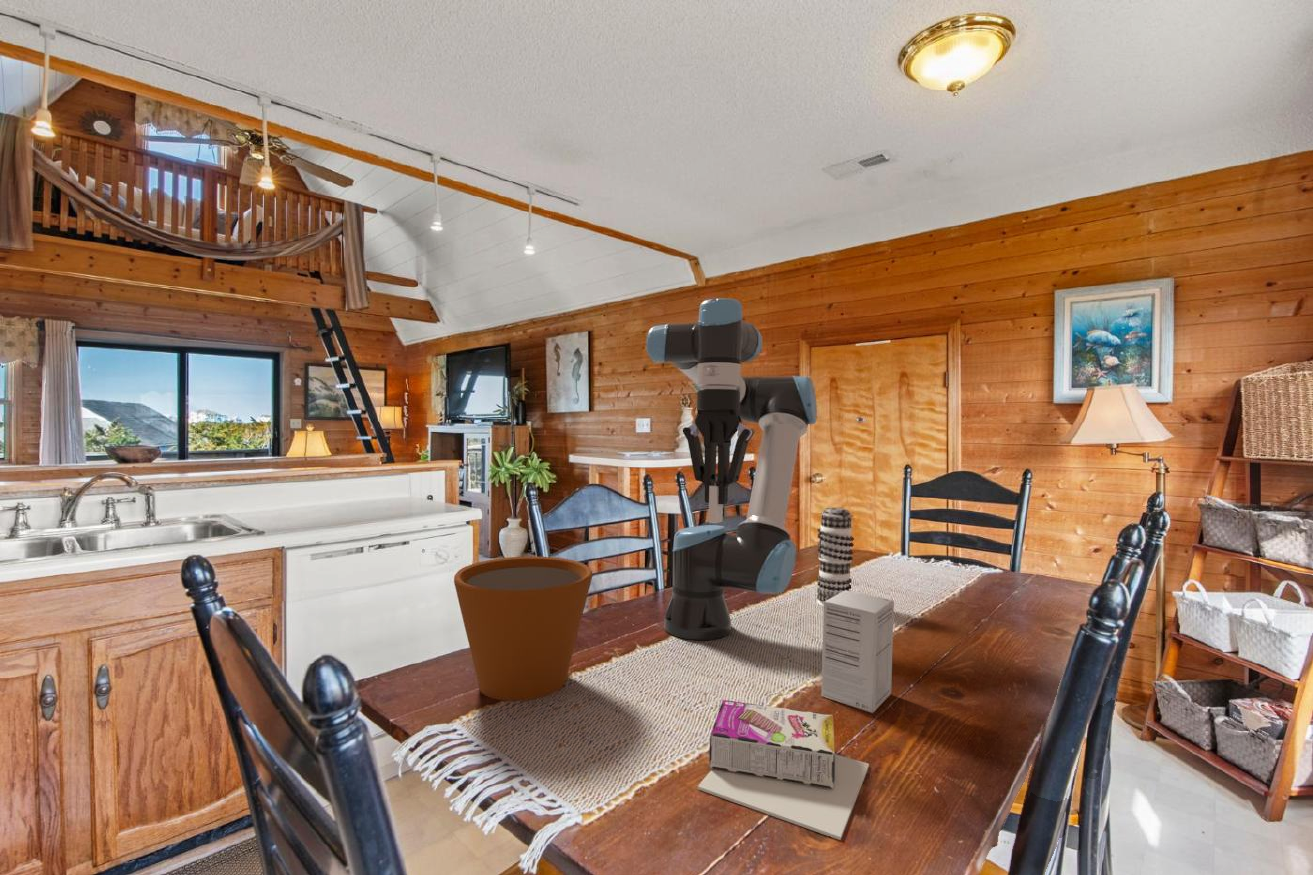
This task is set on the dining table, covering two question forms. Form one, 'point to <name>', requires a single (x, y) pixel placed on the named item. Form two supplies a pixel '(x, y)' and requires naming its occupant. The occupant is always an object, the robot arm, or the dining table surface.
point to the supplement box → (857, 649)
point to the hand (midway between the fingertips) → (715, 521)
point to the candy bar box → (774, 743)
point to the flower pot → (522, 622)
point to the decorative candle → (834, 553)
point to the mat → (795, 796)
